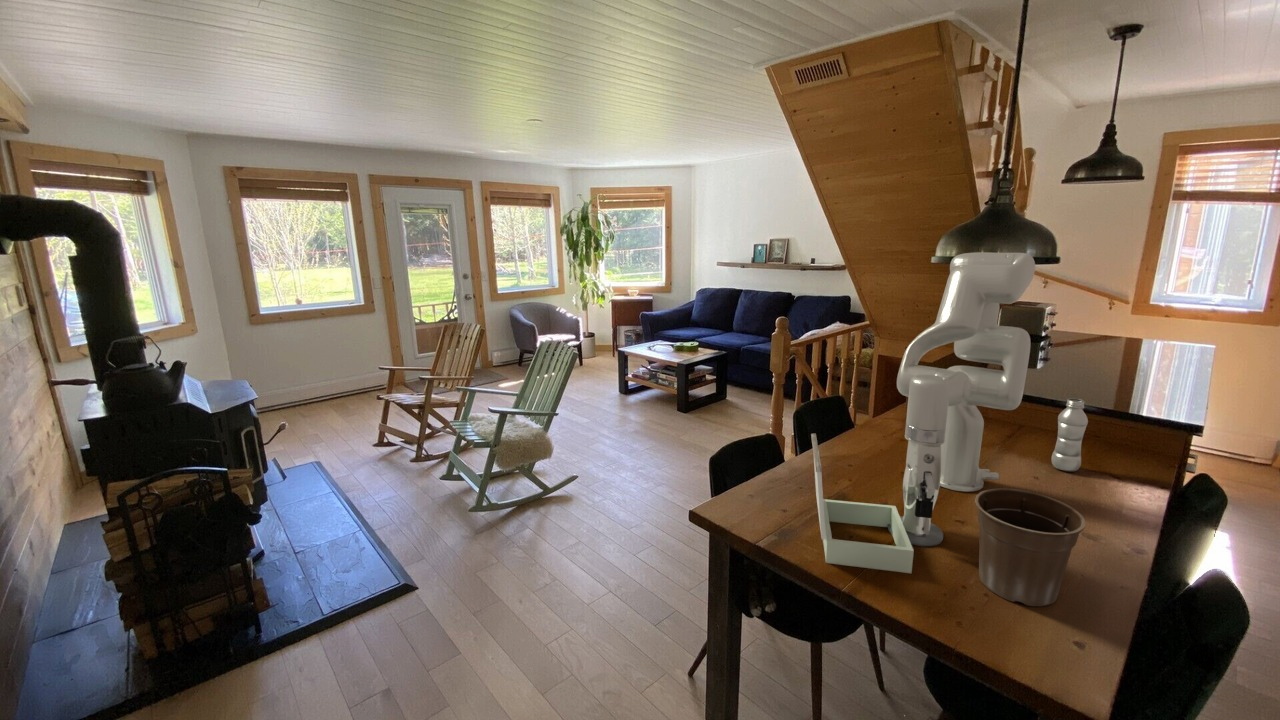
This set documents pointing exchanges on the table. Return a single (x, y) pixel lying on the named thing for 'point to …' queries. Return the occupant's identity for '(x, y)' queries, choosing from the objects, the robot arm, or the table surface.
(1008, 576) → the plant pot
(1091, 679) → the table surface
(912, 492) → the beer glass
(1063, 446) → the plastic bottle
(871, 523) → the frame
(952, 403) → the robot arm
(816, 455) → the lid
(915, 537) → the grey round coaster
